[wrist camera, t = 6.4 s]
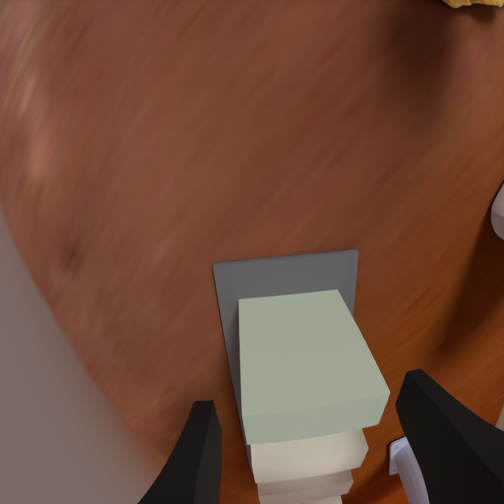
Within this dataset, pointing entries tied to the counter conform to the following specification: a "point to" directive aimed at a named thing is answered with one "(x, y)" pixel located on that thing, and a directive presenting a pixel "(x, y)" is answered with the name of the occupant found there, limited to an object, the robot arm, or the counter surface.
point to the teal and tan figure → (473, 2)
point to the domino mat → (277, 293)
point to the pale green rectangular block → (305, 369)
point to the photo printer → (498, 214)
